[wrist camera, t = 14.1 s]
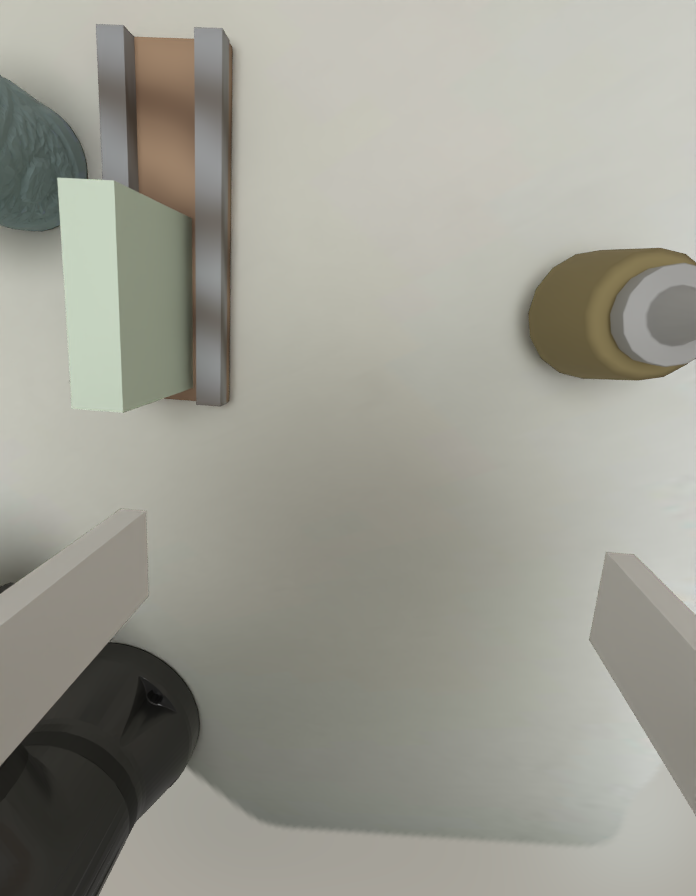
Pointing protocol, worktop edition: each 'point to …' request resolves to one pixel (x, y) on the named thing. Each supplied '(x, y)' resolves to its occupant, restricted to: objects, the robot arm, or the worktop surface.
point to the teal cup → (33, 160)
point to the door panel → (125, 295)
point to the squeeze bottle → (617, 314)
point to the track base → (178, 164)
